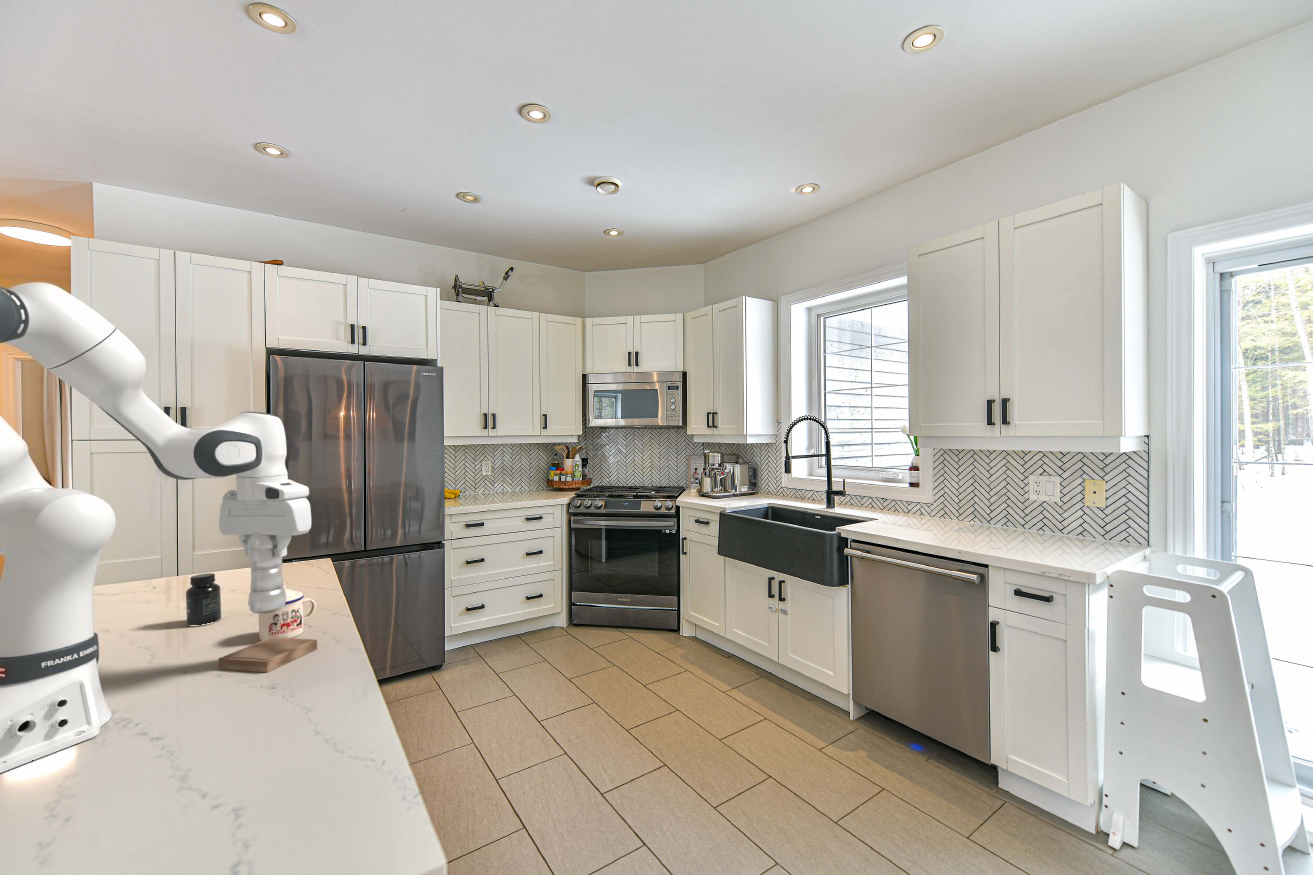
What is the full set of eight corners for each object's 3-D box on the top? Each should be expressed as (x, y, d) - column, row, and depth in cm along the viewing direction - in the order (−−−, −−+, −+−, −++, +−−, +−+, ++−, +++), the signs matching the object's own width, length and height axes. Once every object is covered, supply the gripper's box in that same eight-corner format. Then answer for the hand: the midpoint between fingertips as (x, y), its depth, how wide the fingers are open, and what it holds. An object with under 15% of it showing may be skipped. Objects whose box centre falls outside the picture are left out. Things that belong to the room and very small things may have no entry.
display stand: (267, 672, 110) (267, 661, 110) (218, 668, 113) (218, 657, 113) (317, 648, 122) (316, 639, 122) (272, 645, 125) (271, 636, 125)
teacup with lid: (267, 645, 125) (265, 593, 125) (251, 637, 130) (250, 587, 130) (324, 629, 135) (323, 581, 134) (308, 622, 140) (306, 576, 140)
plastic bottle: (294, 607, 120) (292, 514, 120) (268, 617, 114) (266, 518, 114) (267, 607, 121) (265, 514, 121) (239, 617, 114) (237, 519, 115)
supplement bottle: (182, 624, 142) (180, 576, 142) (215, 616, 148) (213, 570, 148) (192, 628, 138) (190, 580, 138) (226, 620, 144) (224, 573, 144)
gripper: (208, 491, 116) (211, 558, 117) (289, 491, 112) (292, 560, 112) (237, 488, 123) (240, 551, 123) (315, 487, 118) (318, 553, 118)
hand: (265, 555), depth 117 cm, fingers closed on plastic bottle, 6 cm apart
